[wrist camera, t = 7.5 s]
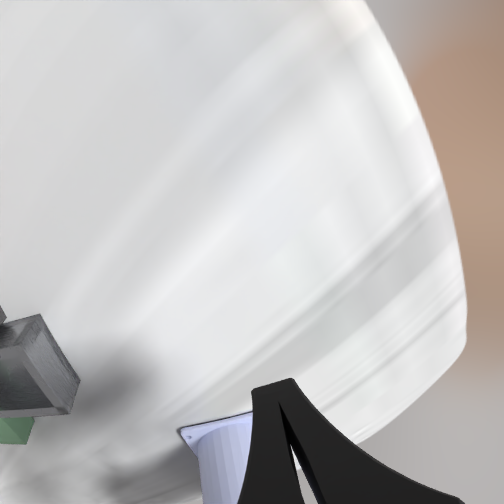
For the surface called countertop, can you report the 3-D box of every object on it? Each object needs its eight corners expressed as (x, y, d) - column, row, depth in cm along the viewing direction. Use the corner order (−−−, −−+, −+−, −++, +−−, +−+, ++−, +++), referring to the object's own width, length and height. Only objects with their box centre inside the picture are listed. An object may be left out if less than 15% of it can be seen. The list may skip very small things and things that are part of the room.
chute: (80, 380, 20) (70, 414, 17) (10, 389, 19) (-3, 418, 16) (39, 313, 17) (20, 344, 14) (-28, 332, 17) (-48, 358, 14)
